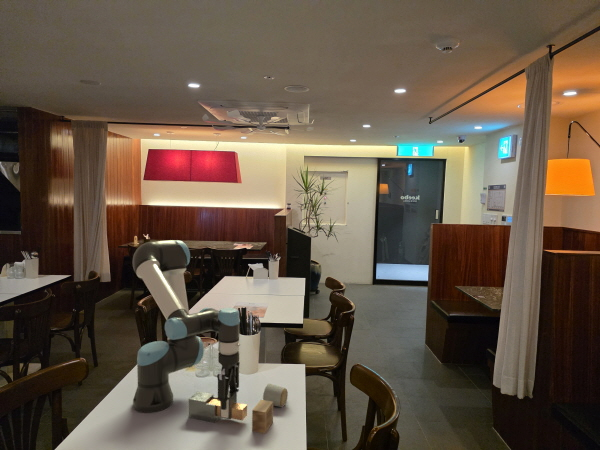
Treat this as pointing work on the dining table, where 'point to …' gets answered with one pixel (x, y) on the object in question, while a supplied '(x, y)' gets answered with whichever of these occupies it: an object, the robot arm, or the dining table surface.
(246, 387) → the dining table surface
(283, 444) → the dining table surface
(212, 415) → the sleeve
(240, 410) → the tan wooden post
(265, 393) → the ceramic mug
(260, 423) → the socket
